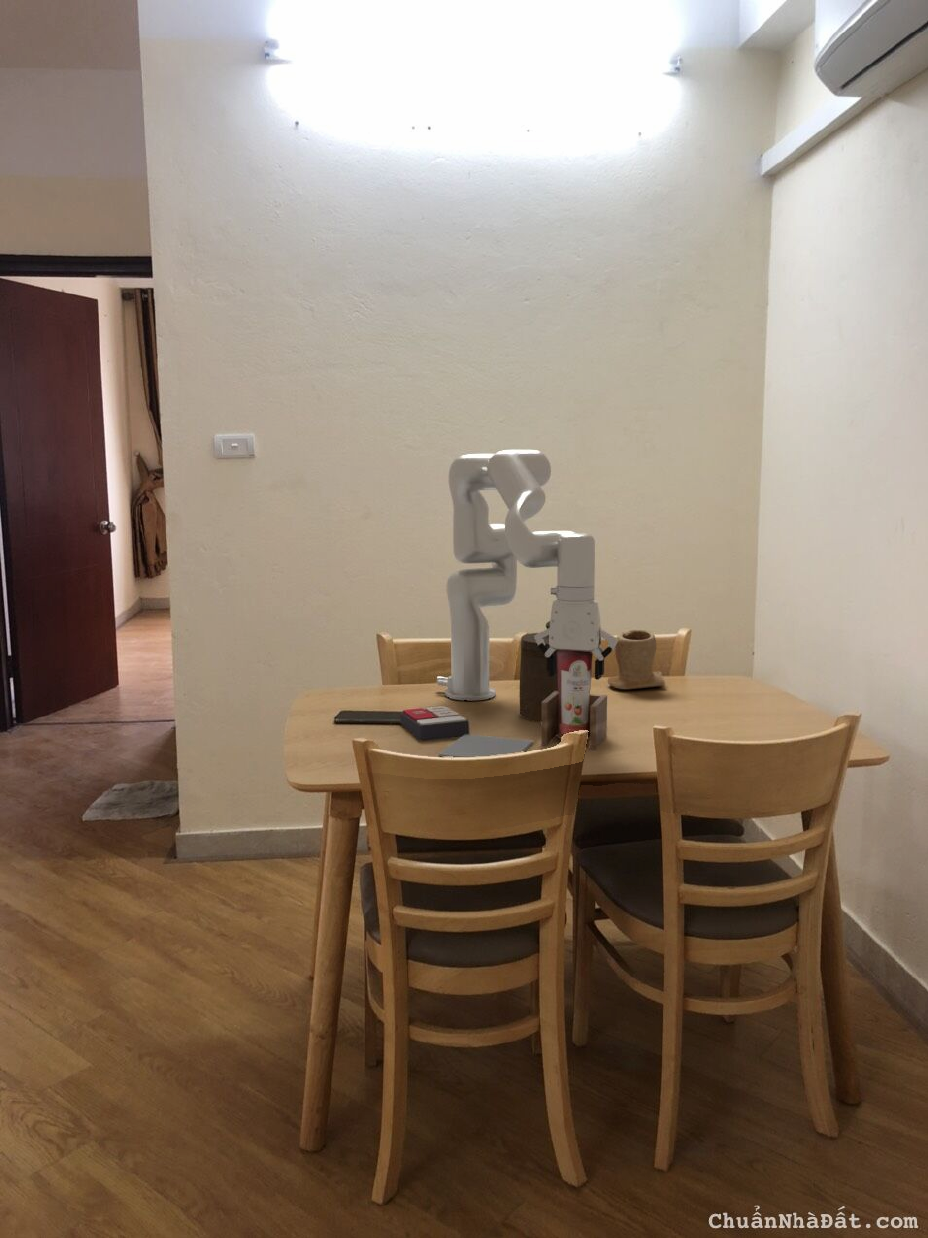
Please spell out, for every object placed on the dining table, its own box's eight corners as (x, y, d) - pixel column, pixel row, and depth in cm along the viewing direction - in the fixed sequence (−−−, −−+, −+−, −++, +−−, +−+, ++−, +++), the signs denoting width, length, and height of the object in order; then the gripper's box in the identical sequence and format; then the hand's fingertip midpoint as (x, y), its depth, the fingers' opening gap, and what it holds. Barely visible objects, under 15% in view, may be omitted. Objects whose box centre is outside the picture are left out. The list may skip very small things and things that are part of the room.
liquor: (560, 747, 197) (562, 612, 192) (552, 737, 204) (553, 606, 199) (595, 745, 198) (598, 611, 193) (585, 735, 205) (587, 605, 200)
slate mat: (438, 756, 191) (438, 753, 191) (465, 736, 205) (465, 733, 204) (510, 764, 185) (510, 761, 185) (532, 743, 199) (532, 740, 199)
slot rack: (541, 744, 199) (541, 702, 197) (554, 731, 208) (554, 690, 207) (595, 750, 195) (596, 706, 193) (606, 736, 204) (607, 695, 203)
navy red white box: (445, 704, 219) (469, 717, 205) (446, 722, 219) (469, 736, 205) (399, 708, 215) (420, 722, 201) (400, 727, 215) (420, 742, 201)
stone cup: (620, 695, 240) (621, 636, 238) (602, 684, 251) (603, 628, 249) (676, 691, 244) (678, 633, 241) (655, 681, 255) (657, 625, 253)
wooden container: (588, 709, 227) (589, 617, 223) (578, 725, 213) (580, 627, 209) (526, 705, 231) (527, 614, 227) (513, 721, 217) (513, 624, 213)
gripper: (529, 595, 195) (529, 677, 198) (614, 598, 189) (612, 683, 192) (540, 590, 202) (539, 670, 205) (621, 593, 196) (620, 675, 199)
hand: (575, 676), depth 198 cm, fingers open, 9 cm apart
